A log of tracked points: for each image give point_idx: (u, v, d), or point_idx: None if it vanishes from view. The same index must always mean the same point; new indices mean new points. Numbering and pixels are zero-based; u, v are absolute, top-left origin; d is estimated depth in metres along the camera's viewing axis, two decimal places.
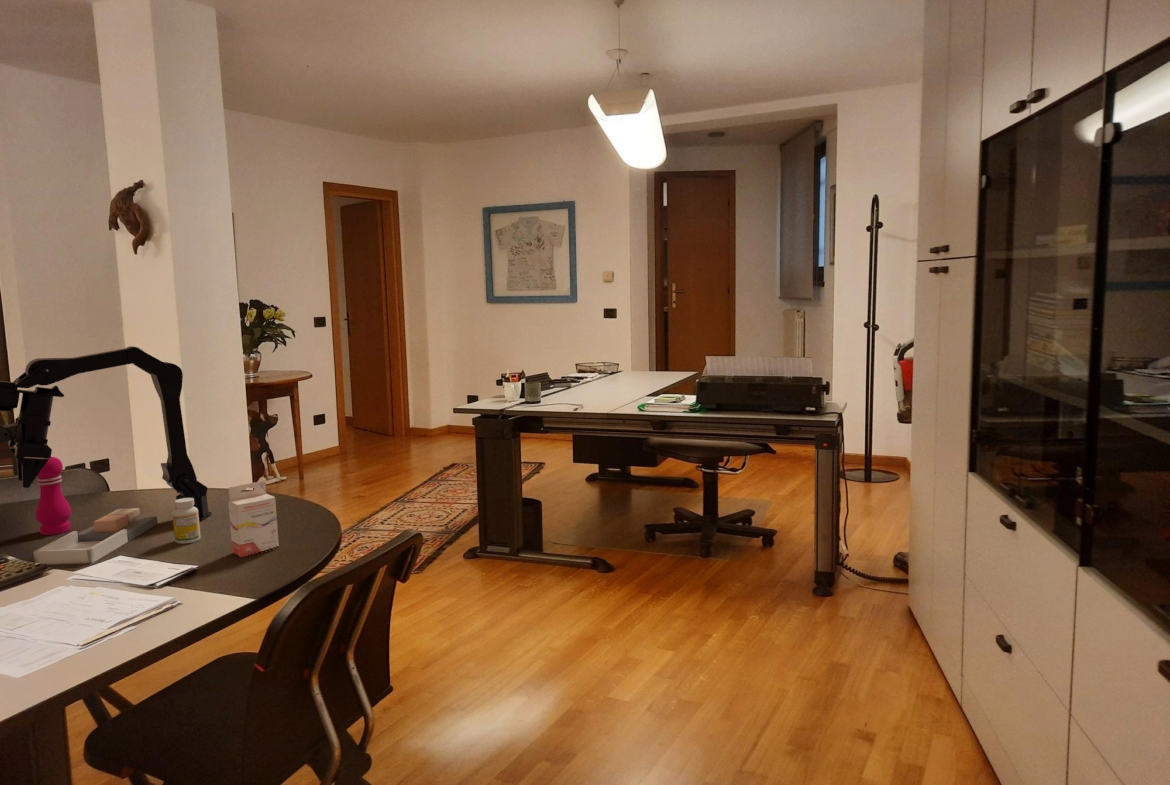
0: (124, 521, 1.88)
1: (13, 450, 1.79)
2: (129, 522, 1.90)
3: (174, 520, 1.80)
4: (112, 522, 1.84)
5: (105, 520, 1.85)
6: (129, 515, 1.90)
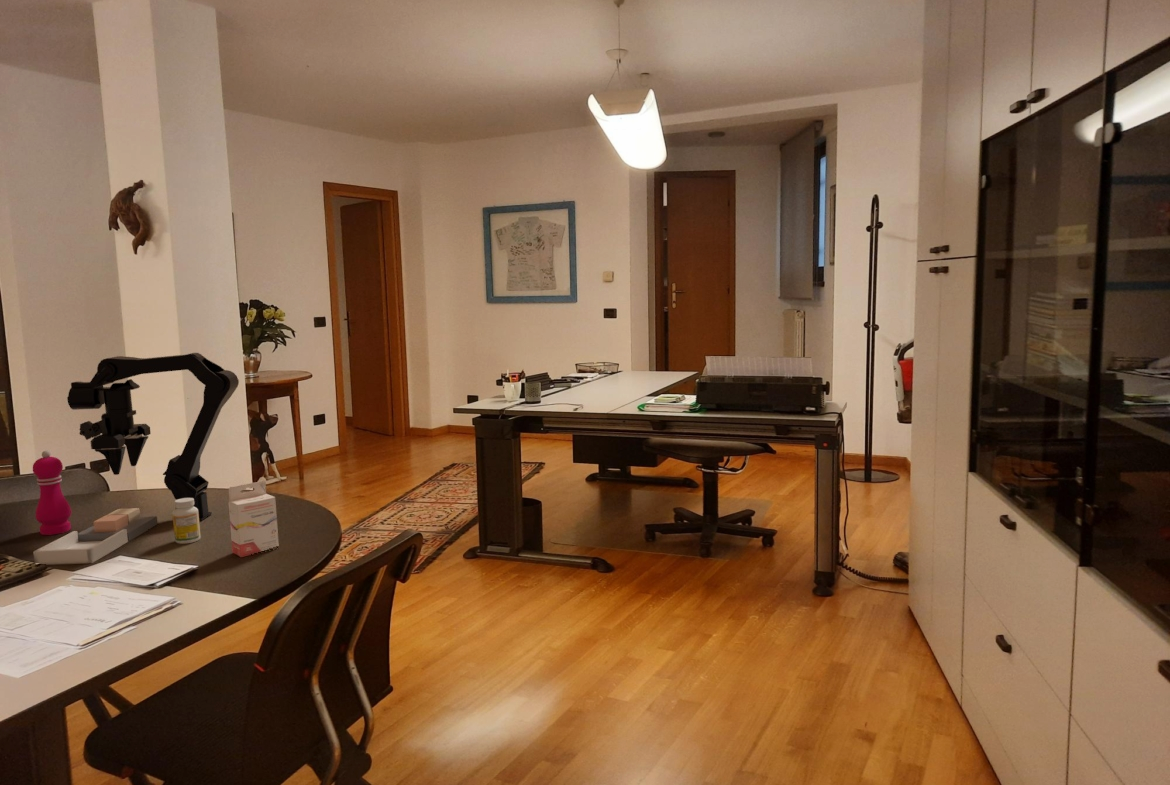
0: (124, 521, 1.88)
1: None
2: (129, 522, 1.90)
3: (174, 520, 1.80)
4: (112, 522, 1.84)
5: (105, 520, 1.85)
6: (129, 515, 1.90)
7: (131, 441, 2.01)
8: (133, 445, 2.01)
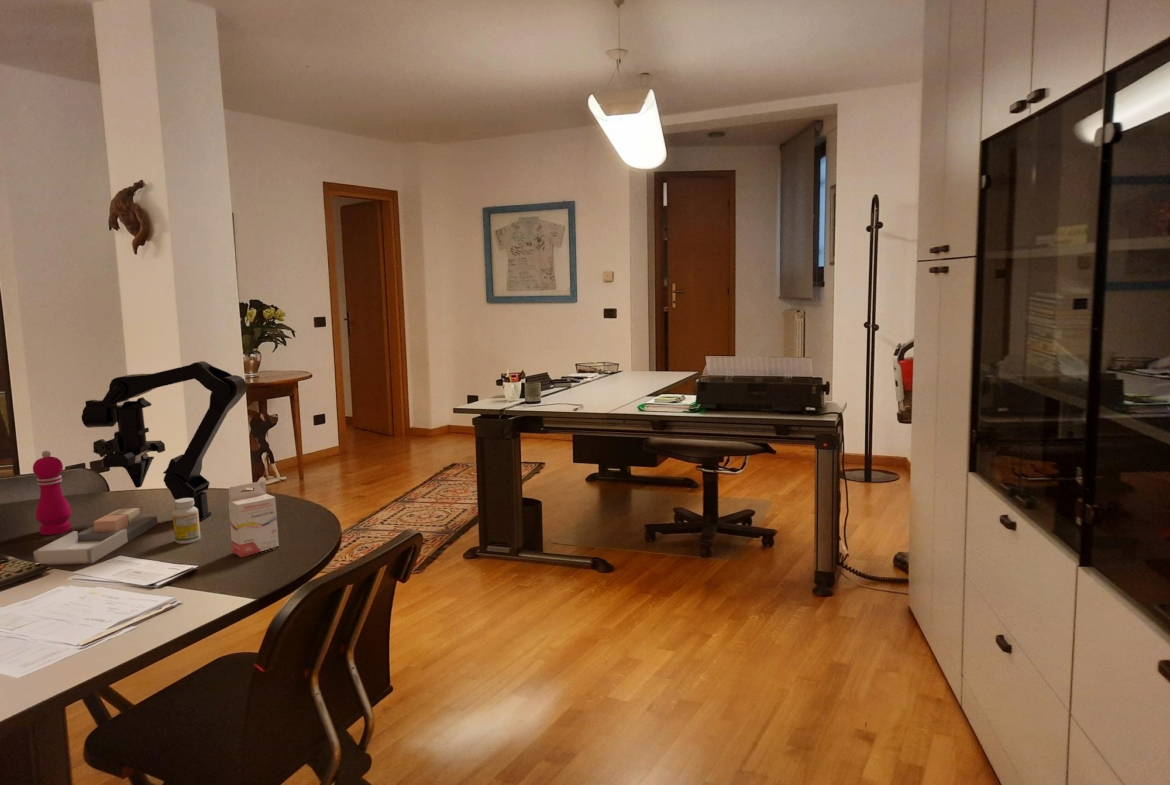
0: (124, 521, 1.88)
1: None
2: (129, 522, 1.90)
3: (174, 520, 1.80)
4: (112, 522, 1.84)
5: (105, 520, 1.85)
6: (129, 515, 1.90)
7: None
8: None
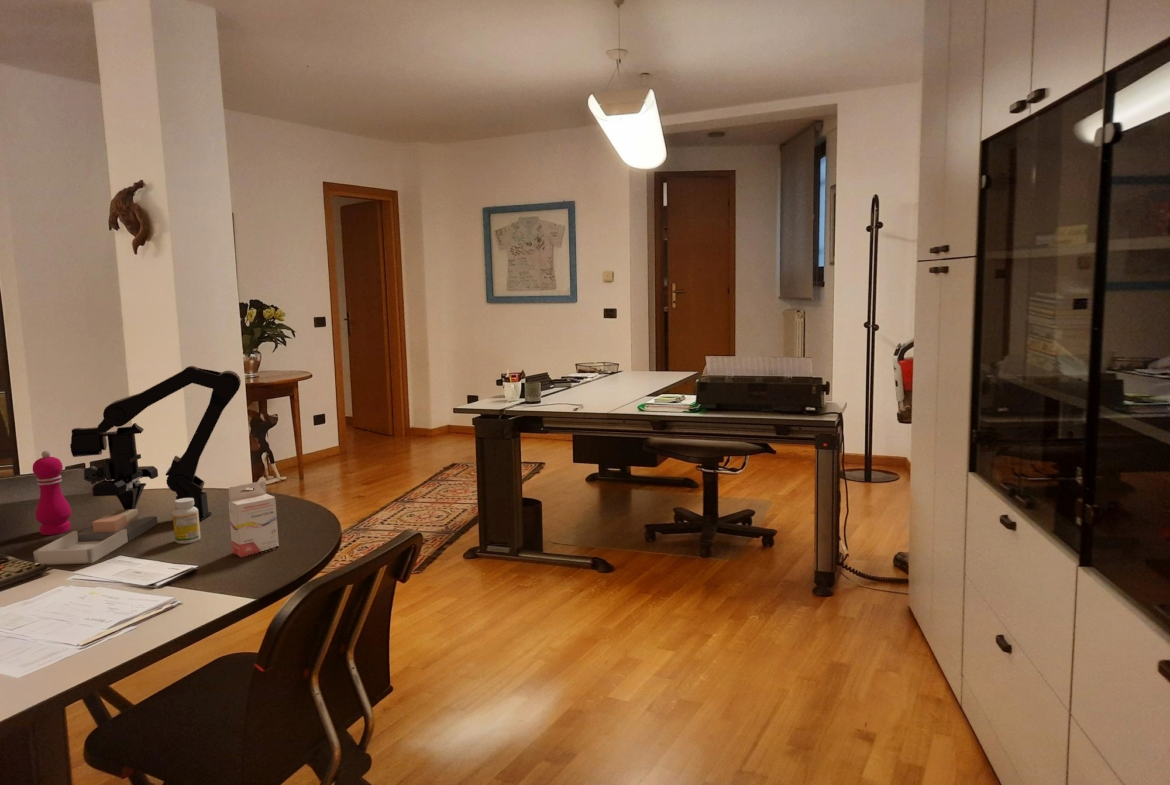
0: (123, 521, 1.88)
1: None
2: (127, 523, 1.90)
3: (174, 520, 1.80)
4: (111, 522, 1.84)
5: (104, 520, 1.85)
6: (127, 516, 1.90)
7: None
8: None
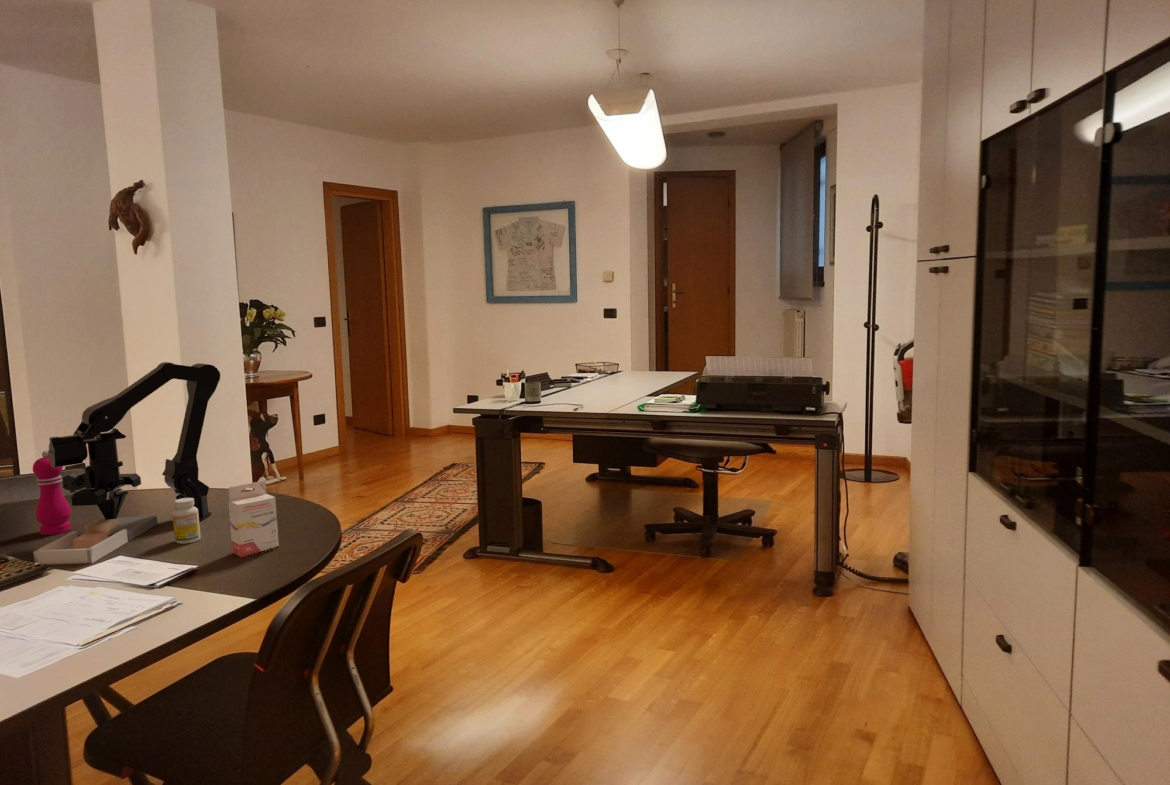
0: None
1: None
2: None
3: (174, 520, 1.80)
4: (91, 540, 1.76)
5: (84, 538, 1.77)
6: (107, 526, 1.81)
7: None
8: None
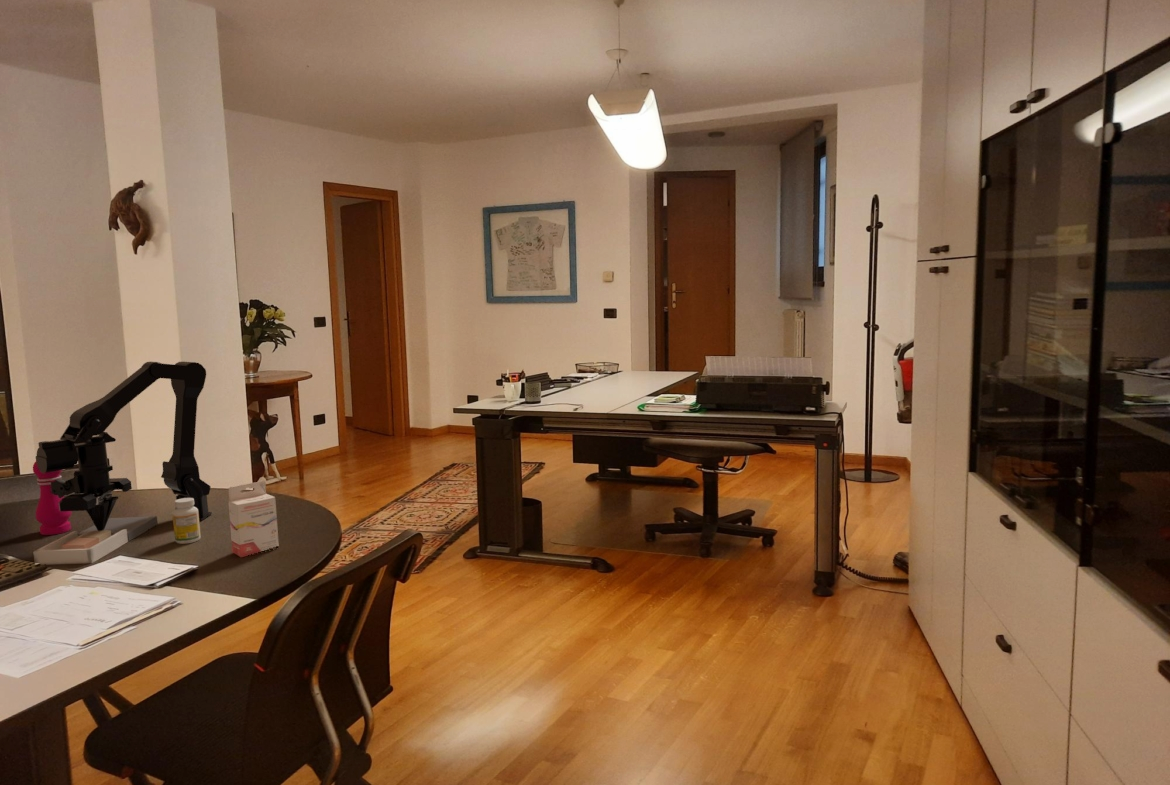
0: (95, 544, 1.76)
1: None
2: None
3: (174, 520, 1.80)
4: (81, 546, 1.73)
5: (74, 544, 1.73)
6: None
7: None
8: None
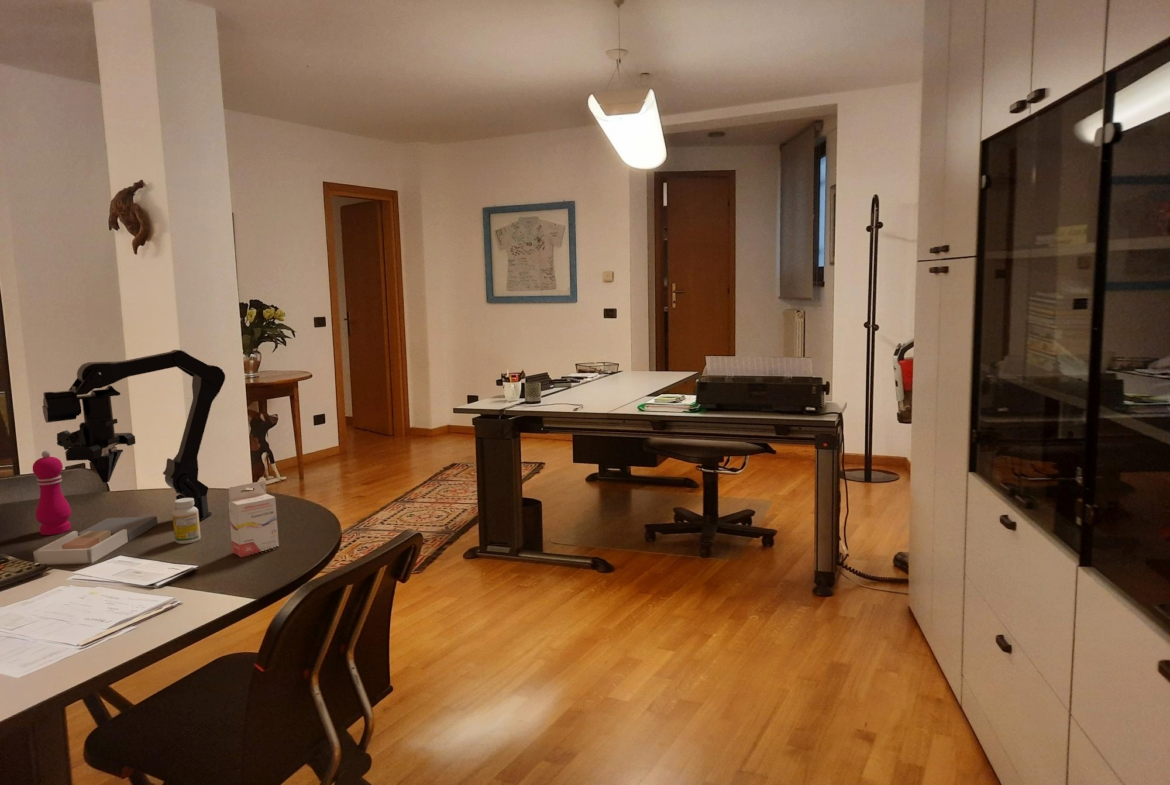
0: (95, 544, 1.76)
1: None
2: None
3: (174, 520, 1.80)
4: (81, 546, 1.73)
5: (74, 544, 1.73)
6: None
7: None
8: None
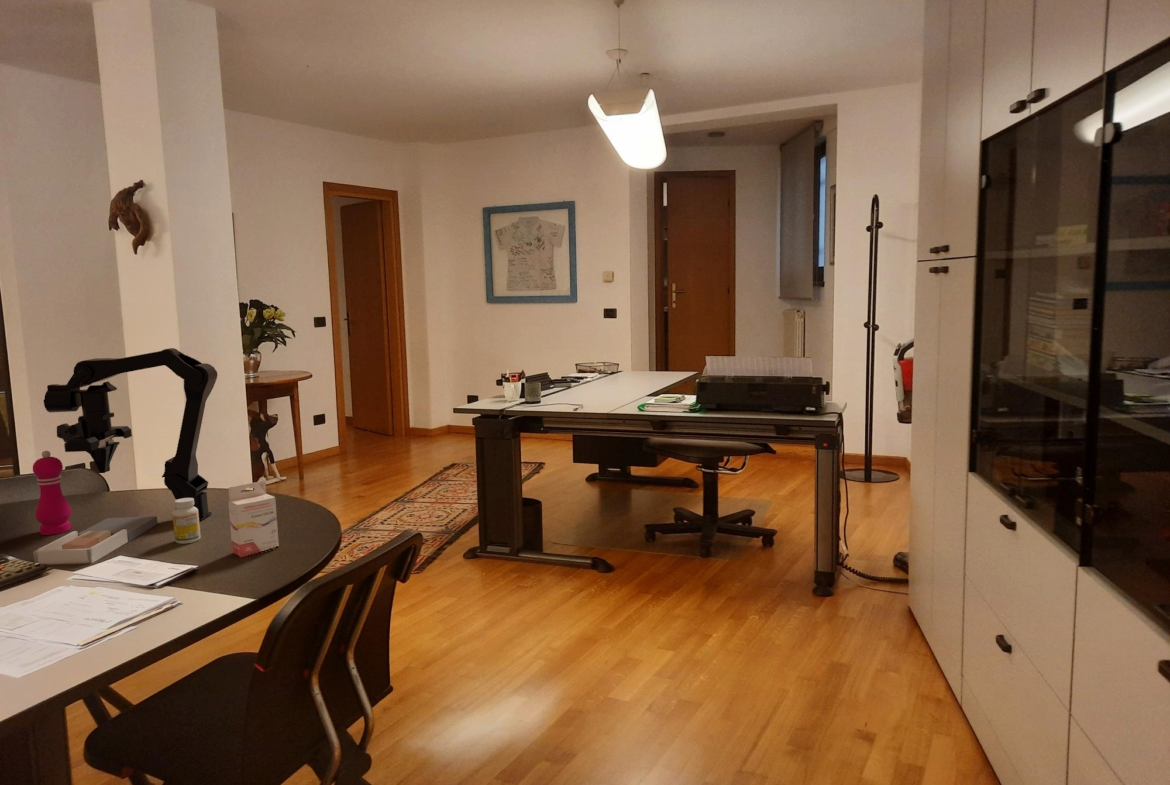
0: (95, 544, 1.76)
1: None
2: None
3: (174, 520, 1.80)
4: (81, 546, 1.73)
5: (74, 544, 1.73)
6: None
7: None
8: None
